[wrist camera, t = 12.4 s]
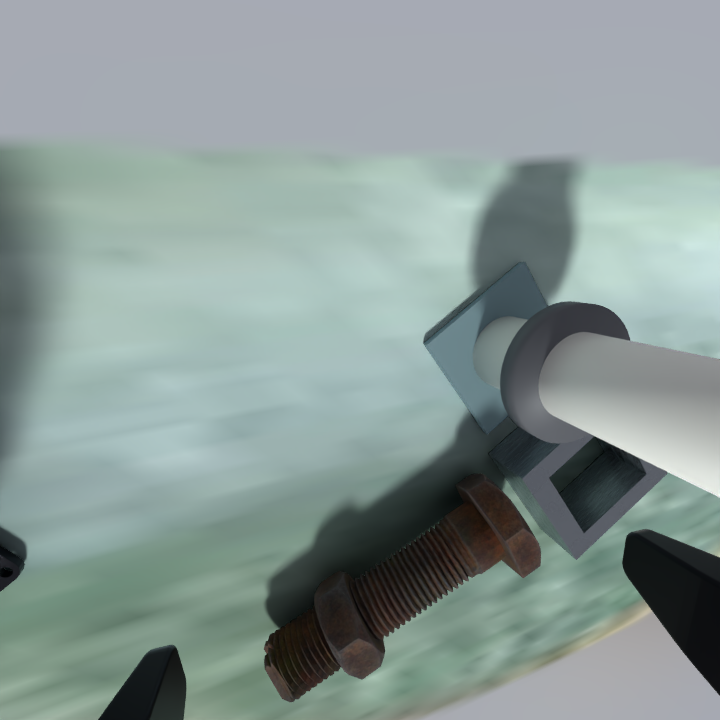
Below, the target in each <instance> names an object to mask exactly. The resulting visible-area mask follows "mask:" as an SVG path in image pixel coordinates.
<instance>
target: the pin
mask: <svg viewBox="0 0 720 720" xmlns="http://www.w3.org/2000/svg"><path fill="white" fill-rule="evenodd" d="M473 364H474V368H475V371H476V373H477V375H478V376H479V377H480V378H481V379H482V380H483V381H484V382H485V383H487V384H489V385H491V386H493V387H495V388H497V389H499V390H500V392H501V398H502V402H503V405H504V408H505V410H506V412H507V414H508V415H509V417H510V418H511V420H512V421H513V422H514V423H515V424H516V425H517V426H519V427H520V428H522V429H523V430H525V431H527V432H528V433H530V434H532V435H533V436H535V437H537V438H539V439H541V440H543V441H546V442H549V443H557V444H559V443H568V442H573V441H575V440H578V439H581V438H583V437H585V436H587V435H588V434H591V435H593V436H595V437H597V438H600V439H602V440H604V441H606V442H608V443H610V444H612V445H614V446H616V447H618V448H620V449H622V450H624V451H626V452H628V453H630V454H632V455H634V456H636V457H638V458H640V459H642V460H644V461H646V462H648V463H651V464H653V465H655V466H657V467H659V468H661V469H663V470H665V471H667V472H669V473H671V474H673V475H675V476H677V477H679V478H681V479H683V480H685V481H687V482H689V483H691V484H693V485H695V486H697V487H700V488H702V489H704V490H706V491H708V492H710V493H712V494H714V495H716V496H718V497H720V359H716V358H711V357H706V356H701V355H696V354H691V353H687V352H682V351H677V350H672V349H667V348H662V347H658V346H653V345H648V344H643V343H638V342H633V341H630V337H629V334H628V331H627V329H626V327H625V325H624V324H623V322H622V321H621V319H620V318H619V317H618V316H617V315H616V314H615V313H614V312H612V311H611V310H609V309H607V308H605V307H603V306H600V305H596V304H588V303H580V302H560V303H556V304H553V305H550V306H548V307H546V308H544V309H542V310H540V311H539V312H537V313H536V314H535V315H533V316H532V317H531V318H530V319H529V320H527V319H522V318H517V317H513V316H505V317H501V318H498V319H496V320H494V321H492V322H491V323H489V324H488V325H487V326H486V327H485V328H484V329H483V330H482V332H481V333H480V335H479V336H478V338H477V340H476V343H475V346H474V350H473Z"/></svg>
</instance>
